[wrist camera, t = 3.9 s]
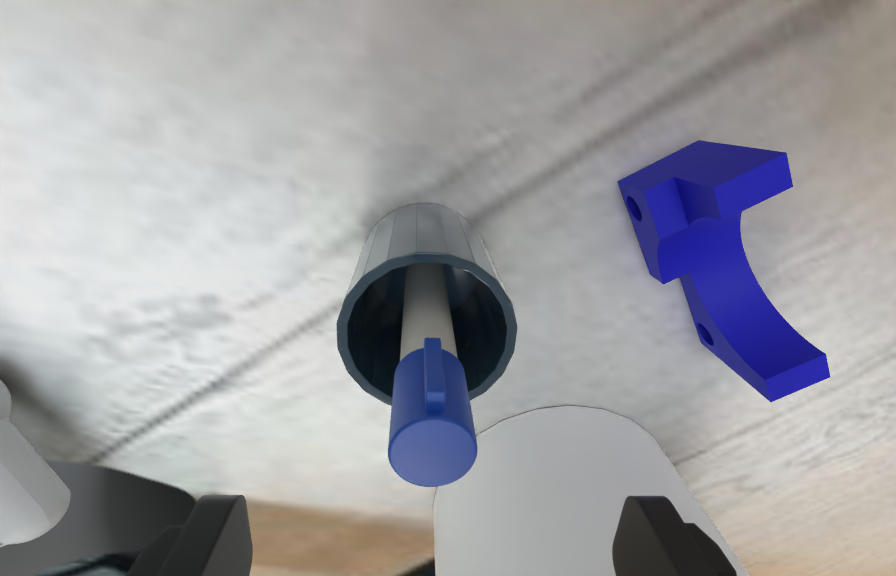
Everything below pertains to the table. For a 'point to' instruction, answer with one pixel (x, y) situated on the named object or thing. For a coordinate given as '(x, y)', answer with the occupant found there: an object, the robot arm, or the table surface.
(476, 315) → the tumbler
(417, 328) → the marker
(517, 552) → the cylinder
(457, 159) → the table surface
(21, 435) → the clip-on lamp
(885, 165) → the table surface
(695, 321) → the blue curved block
